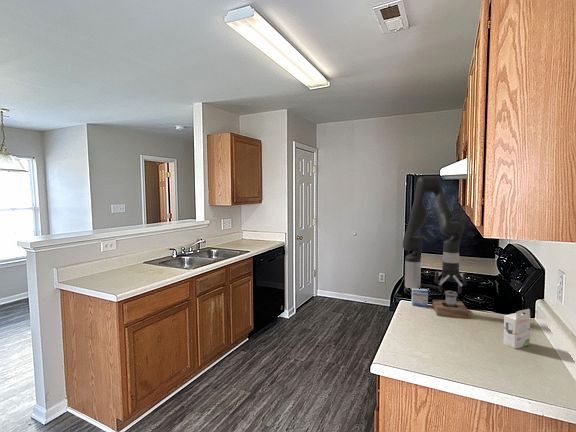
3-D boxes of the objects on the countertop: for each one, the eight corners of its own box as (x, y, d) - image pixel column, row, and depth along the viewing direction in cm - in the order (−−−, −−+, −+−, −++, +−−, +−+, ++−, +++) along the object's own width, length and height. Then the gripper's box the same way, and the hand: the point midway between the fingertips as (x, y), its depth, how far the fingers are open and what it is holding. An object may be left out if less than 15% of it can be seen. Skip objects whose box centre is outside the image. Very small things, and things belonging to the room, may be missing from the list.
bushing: (443, 309, 166) (443, 290, 165) (455, 310, 164) (456, 291, 164) (445, 313, 160) (446, 293, 160) (458, 314, 159) (458, 294, 158)
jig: (432, 305, 171) (432, 299, 171) (461, 308, 167) (461, 301, 167) (437, 315, 158) (437, 308, 157) (468, 318, 154) (468, 310, 154)
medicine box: (412, 305, 172) (412, 289, 171) (411, 303, 176) (411, 287, 176) (427, 307, 170) (428, 291, 169) (426, 304, 174) (427, 288, 173)
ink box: (517, 340, 131) (518, 304, 130) (530, 345, 126) (531, 308, 125) (502, 343, 127) (503, 307, 126) (515, 349, 123) (516, 311, 122)
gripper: (464, 259, 163) (463, 291, 164) (434, 258, 166) (433, 289, 168) (468, 263, 155) (467, 295, 157) (436, 261, 159) (435, 293, 160)
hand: (449, 292), depth 162 cm, fingers open, 8 cm apart
